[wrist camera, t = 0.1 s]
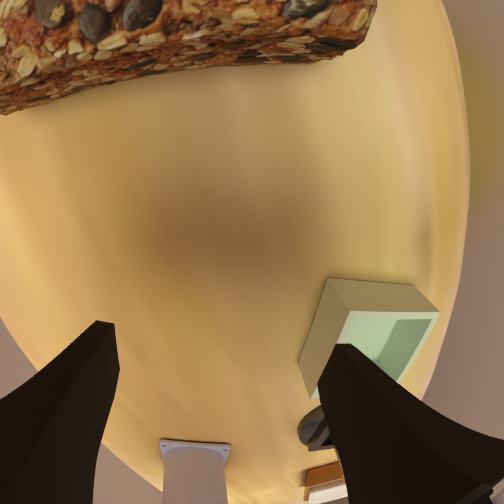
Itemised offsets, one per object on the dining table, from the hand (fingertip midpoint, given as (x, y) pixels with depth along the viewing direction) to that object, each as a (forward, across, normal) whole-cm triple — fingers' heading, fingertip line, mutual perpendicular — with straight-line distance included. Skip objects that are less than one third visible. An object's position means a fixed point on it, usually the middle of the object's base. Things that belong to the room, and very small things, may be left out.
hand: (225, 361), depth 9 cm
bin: (+10, -12, +6) cm, 17 cm away
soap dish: (+11, -23, +36) cm, 45 cm away
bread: (+10, +6, -14) cm, 19 cm away
